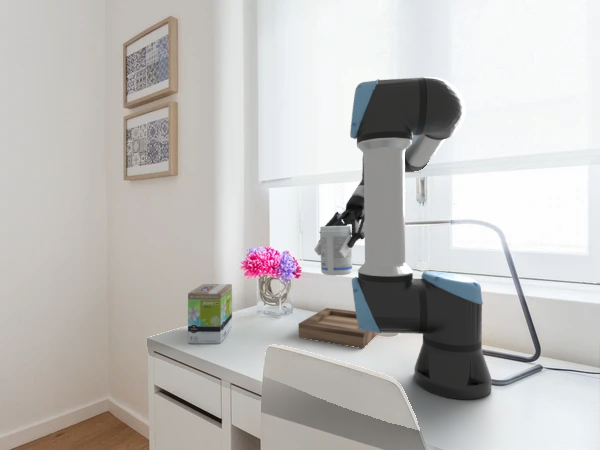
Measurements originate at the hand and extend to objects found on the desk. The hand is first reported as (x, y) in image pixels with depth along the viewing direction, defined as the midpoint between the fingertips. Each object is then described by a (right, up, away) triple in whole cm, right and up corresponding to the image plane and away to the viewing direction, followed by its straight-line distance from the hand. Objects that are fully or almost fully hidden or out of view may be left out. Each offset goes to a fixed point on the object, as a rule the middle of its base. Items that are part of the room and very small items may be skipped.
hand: (329, 253), depth 108 cm
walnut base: (+4, -25, +2) cm, 25 cm away
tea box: (-36, -25, +1) cm, 44 cm away
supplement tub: (+2, -7, +2) cm, 7 cm away
